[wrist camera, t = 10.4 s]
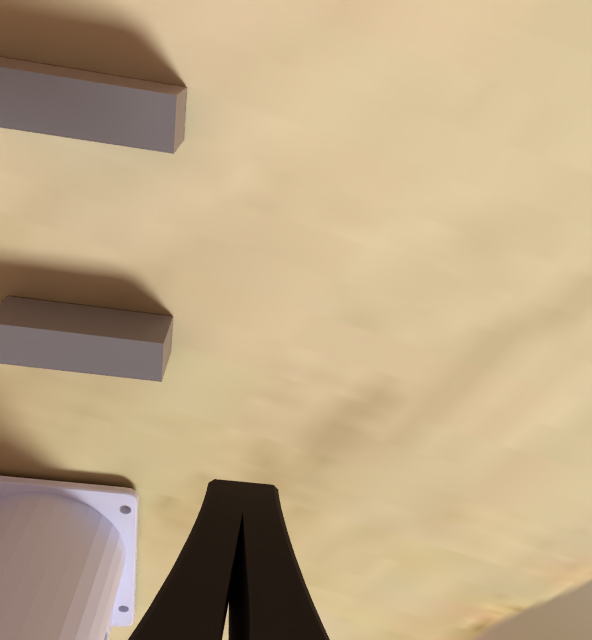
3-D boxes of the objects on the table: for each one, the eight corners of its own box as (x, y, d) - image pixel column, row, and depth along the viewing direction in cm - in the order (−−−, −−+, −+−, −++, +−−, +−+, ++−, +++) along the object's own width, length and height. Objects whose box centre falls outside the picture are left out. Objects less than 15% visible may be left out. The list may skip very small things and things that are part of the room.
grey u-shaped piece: (170, 352, 22) (161, 381, 20) (11, 333, 21) (-13, 361, 20) (186, 87, 17) (176, 95, 16) (-16, 54, 17) (-50, 58, 15)
